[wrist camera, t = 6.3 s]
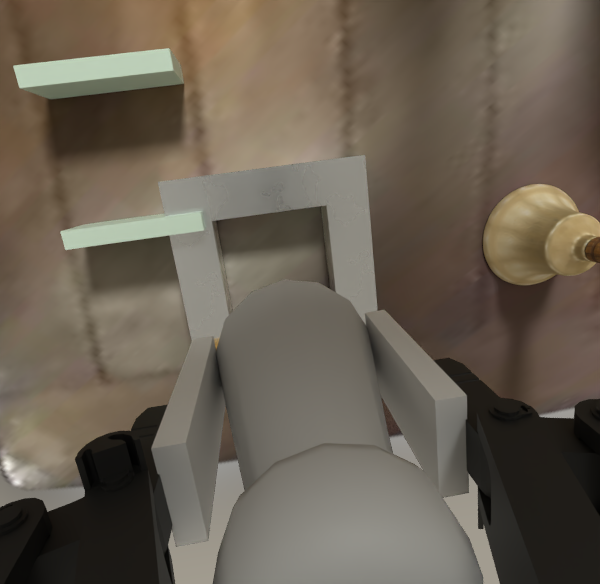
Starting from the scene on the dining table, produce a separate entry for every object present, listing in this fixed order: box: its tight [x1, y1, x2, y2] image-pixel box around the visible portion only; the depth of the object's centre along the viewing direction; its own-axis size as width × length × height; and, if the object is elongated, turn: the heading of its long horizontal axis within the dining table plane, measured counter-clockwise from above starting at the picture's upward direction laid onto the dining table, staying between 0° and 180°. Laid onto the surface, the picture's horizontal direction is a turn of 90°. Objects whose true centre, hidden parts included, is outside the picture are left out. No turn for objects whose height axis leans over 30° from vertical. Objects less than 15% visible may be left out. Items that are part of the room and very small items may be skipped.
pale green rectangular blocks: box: [13, 48, 206, 250], centre depth 28 cm, size 11×9×4 cm
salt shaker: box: [213, 280, 483, 584], centre depth 12 cm, size 6×6×13 cm
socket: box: [158, 155, 378, 349], centre depth 32 cm, size 14×14×4 cm
